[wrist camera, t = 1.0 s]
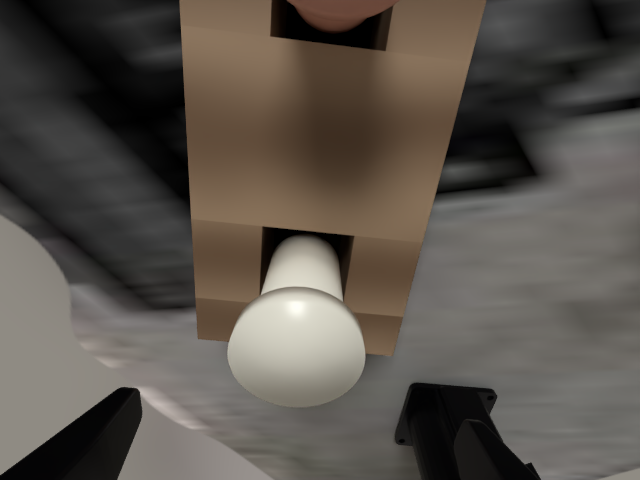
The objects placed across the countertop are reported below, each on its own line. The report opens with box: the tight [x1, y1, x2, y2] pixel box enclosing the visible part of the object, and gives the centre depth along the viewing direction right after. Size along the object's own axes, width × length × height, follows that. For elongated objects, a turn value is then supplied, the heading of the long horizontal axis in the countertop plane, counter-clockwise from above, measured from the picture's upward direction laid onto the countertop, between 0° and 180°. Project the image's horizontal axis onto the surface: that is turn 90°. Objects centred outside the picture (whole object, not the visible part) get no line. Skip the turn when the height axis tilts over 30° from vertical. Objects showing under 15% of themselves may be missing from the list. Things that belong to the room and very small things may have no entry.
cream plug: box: [227, 234, 365, 408], centre depth 13 cm, size 4×4×6 cm
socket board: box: [180, 0, 486, 356], centre depth 15 cm, size 20×10×5 cm, turn 174°
